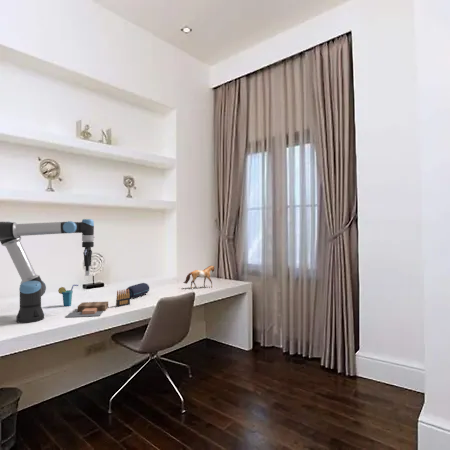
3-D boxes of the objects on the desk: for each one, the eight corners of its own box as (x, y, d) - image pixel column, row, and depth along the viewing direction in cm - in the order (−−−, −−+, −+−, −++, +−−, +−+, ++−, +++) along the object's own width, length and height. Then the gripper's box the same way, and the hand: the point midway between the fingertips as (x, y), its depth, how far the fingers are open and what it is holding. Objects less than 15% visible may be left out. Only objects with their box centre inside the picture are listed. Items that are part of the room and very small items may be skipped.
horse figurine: (214, 286, 331) (214, 265, 332) (217, 287, 324) (216, 266, 324) (183, 288, 321) (183, 266, 321) (185, 289, 314) (184, 267, 314)
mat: (65, 317, 216) (65, 317, 216) (70, 313, 228) (70, 312, 228) (99, 316, 220) (99, 315, 220) (103, 311, 231) (103, 311, 231)
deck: (77, 312, 231) (77, 306, 231) (82, 308, 242) (82, 302, 242) (105, 310, 233) (105, 305, 234) (108, 307, 245) (108, 301, 245)
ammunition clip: (128, 304, 255) (128, 288, 255) (130, 304, 253) (130, 288, 254) (115, 306, 246) (115, 290, 247) (117, 307, 245) (117, 290, 245)
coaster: (82, 314, 223) (82, 311, 223) (84, 311, 231) (84, 308, 231) (94, 313, 225) (94, 310, 225) (97, 310, 232) (97, 307, 232)
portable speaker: (140, 293, 298) (140, 281, 298) (150, 293, 295) (150, 282, 295) (123, 298, 274) (123, 286, 275) (134, 299, 271) (134, 287, 271)
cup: (76, 303, 259) (76, 283, 259) (80, 304, 253) (80, 284, 254) (56, 306, 249) (56, 285, 249) (60, 307, 244) (60, 287, 244)
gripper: (90, 241, 230) (90, 276, 229) (95, 241, 243) (95, 274, 242) (79, 241, 229) (79, 276, 228) (85, 241, 242) (84, 274, 241)
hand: (87, 275), depth 235 cm, fingers closed
